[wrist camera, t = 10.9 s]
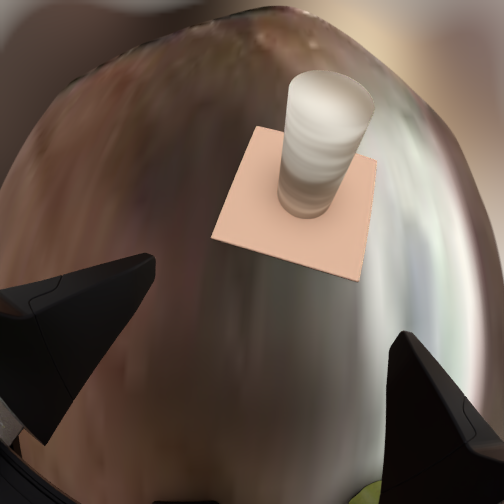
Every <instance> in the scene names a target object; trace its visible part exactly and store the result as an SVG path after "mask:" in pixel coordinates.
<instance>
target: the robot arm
mask: <svg viewBox="0 0 504 504" xmlns="http://www.w3.org/2000/svg"><path fill="white" fill-rule="evenodd" d="M155 266H156V259H155V257H154V256H153V255H150V254H147V253H142V254H138V255H134V256H130V257H126V258H122V259H119V260H115V261H111V262H108V263H104V264H100V265H96V266H93V267H89V268H86V269H82V270H78V271H75V272H71V273H68V274H64V275H63V276H62V275H60V276H57V277H53V278H50V279H46V280H42V281H38V282H34V283H29V284H25V285H20V286H15V287H11V288H6V289H1V290H0V504H81V503H79V502H78V501H76V500H75V499H73V498H72V497H70V496H69V495H67V494H66V493H64V492H63V491H61V490H60V489H59V488H57V487H56V486H55V485H53V484H52V483H51V482H49V481H48V480H47V479H46V478H44V477H43V476H42V475H40V474H39V473H38V472H37V471H36V470H34V469H33V468H32V467H31V466H30V465H29V464H27V463H26V462H25V461H24V460H23V459H22V455H21V449H20V443H19V436H18V435H19V434H20V432H21V431H22V430H23V428H24V429H25V430H26V431H27V432H28V433H30V434H31V435H32V436H33V437H34V438H35V439H37V440H38V441H39V442H40V443H42V444H43V445H44V446H45V445H46V444H47V443H48V441H49V440H50V438H51V436H52V435H53V433H54V431H55V430H56V428H57V426H58V425H59V423H60V422H61V420H62V418H63V417H64V415H65V414H66V412H67V410H68V409H69V407H70V406H71V404H72V403H73V400H74V399H75V398H76V396H77V395H78V393H79V392H80V390H81V389H82V387H83V386H84V384H85V383H86V381H87V380H88V378H89V377H90V375H91V374H92V372H93V371H94V369H95V368H96V367H97V365H98V364H99V362H100V361H101V359H102V358H103V356H104V355H105V354H106V352H107V351H108V349H109V348H110V347H111V345H112V344H113V342H114V341H115V340H116V338H117V337H118V335H119V334H120V333H121V331H122V330H123V329H124V327H125V326H126V324H127V323H128V322H129V320H130V319H131V318H132V316H133V315H134V313H135V312H136V310H137V309H138V307H139V305H140V304H141V302H142V300H143V298H144V297H145V295H146V293H147V292H148V290H149V288H150V287H151V285H152V283H153V282H154V279H155ZM152 504H219V503H217V502H215V501H209V502H153V503H152ZM379 504H504V442H503V441H502V440H501V438H500V437H499V436H498V435H497V434H496V432H495V431H494V430H493V429H492V428H491V427H490V425H489V424H488V423H487V422H486V421H485V420H484V418H483V417H482V416H481V415H480V414H479V413H478V411H477V410H476V409H475V408H474V406H473V405H472V404H471V403H470V401H469V400H468V399H467V397H466V396H464V394H463V392H462V391H461V390H460V389H459V387H458V386H457V385H456V384H455V382H454V381H453V380H452V379H451V377H450V376H449V375H448V374H447V373H446V371H445V370H444V369H443V368H442V366H441V365H440V364H439V363H438V362H437V361H436V359H435V358H434V357H433V356H432V355H431V353H430V352H429V351H428V350H427V349H426V348H425V346H424V345H423V344H422V343H421V342H420V341H419V340H418V338H417V337H416V336H415V335H414V334H413V333H412V332H408V331H401V332H400V333H399V335H398V336H397V338H396V339H395V341H394V342H393V344H392V345H391V347H390V350H389V359H388V373H387V385H386V433H385V450H384V463H383V474H382V483H381V491H380V497H379Z"/></svg>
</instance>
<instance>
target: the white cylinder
mask: <svg viewBox="0 0 504 504" xmlns="http://www.w3.org/2000/svg"><path fill="white" fill-rule="evenodd" d="M374 110H375V106H374V101H373V99H372V97H371V95H370V94H369V92H368V91H367V90H366V89H365V88H364V87H363V86H362V85H361V84H359V83H358V82H357V81H355V80H353V79H352V78H350V77H348V76H345V75H343V74H340V73H336V72H332V71H326V70H313V71H308V72H304V73H301V74H299V75H298V76H296V77H295V78H294V79H293V80H292V81H291V83H290V85H289V93H288V102H287V112H286V121H285V130H284V139H283V148H282V156H281V165H280V173H279V182H278V190H277V195H278V199H279V202H280V204H281V206H282V207H283V208H284V209H285V210H286V211H287V212H288V213H289V214H291V215H293V216H295V217H298V218H302V219H313V218H316V217H319V216H321V215H322V214H324V213H325V212H326V211H327V210H328V208H329V207H330V205H331V203H332V201H333V199H334V197H335V195H336V193H337V191H338V188H339V186H340V184H341V182H342V180H343V178H344V176H345V174H346V172H347V170H348V168H349V166H350V164H351V162H352V159H353V157H354V155H355V153H356V151H357V149H358V147H359V145H360V142H361V140H362V138H363V136H364V134H365V131H366V129H367V127H368V125H369V123H370V120H371V118H372V116H373V114H374Z"/></svg>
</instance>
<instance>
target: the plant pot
mask: <svg viewBox="0 0 504 504" xmlns="http://www.w3.org/2000/svg"><path fill="white" fill-rule="evenodd" d="M381 483H382V480H381V481H377V482H374V483H372V484H370V485H368V486H366V487H365V488H363V489H362V491H361V492H360V493H359V494H357V495H356V496H355V497H354V498H352V499H351V500H350V502H349V504H379V497H380V491H381Z"/></svg>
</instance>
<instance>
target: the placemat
mask: <svg viewBox="0 0 504 504" xmlns="http://www.w3.org/2000/svg"><path fill="white" fill-rule="evenodd" d="M283 139H284V132H280V131H276V130H272V129H268V128H263V127H259V126H256V129H255V131H254V133H253V136H252V138H251V140H250V142H249V145H248V147H247V150H246V152H245V154H244V157H243V159H242V161H241V164H240V166H239V169H238V171H237V174H236V176H235V178H234V181H233V183H232V186H231V188H230V191H229V193H228V196H227V198H226V201H225V203H224V206H223V208H222V211H221V213H220V216H219V219H218V221H217V224H216V226H215V229H214V231H213V234H212V237H211V238H212V239H214V240H218V241H221V242H224V243H228V244H231V245H234V246H238V247H241V248H245V249H248V250H251V251H255V252H258V253H261V254H265V255H268V256H272V257H275V258H278V259H282V260H285V261H288V262H292V263H295V264H299V265H302V266H305V267H309V268H312V269H315V270H319V271H322V272H325V273H329V274H332V275H335V276H339V277H342V278H346V279H349V280H352V281H356V282H359V278H360V273H361V268H362V263H363V258H364V253H365V247H366V241H367V235H368V229H369V223H370V216H371V209H372V202H373V194H374V185H375V176H376V166H377V161H376V160H374V159H371V158H368V157H365V156H362V155H359V154H356V153H355V155H354V157H353V159H352V162H351V164H350V166H349V168H348V170H347V172H346V174H345V176H344V178H343V180H342V182H341V184H340V186H339V188H338V191H337V193H336V195H335V197H334V199H333V201H332V203H331V205H330V207H329V208H328V210H327V211H326V212H325V213H324V214H322V215H321V216H319V217H316V218H313V219H302V218H298V217H295V216H293V215H291V214H289V213H288V212H287V211H286V210H285V209H284V208H283V207H282V206H281V204H280V202H279V199H278V195H277V190H278V182H279V173H280V165H281V156H282V148H283Z"/></svg>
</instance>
